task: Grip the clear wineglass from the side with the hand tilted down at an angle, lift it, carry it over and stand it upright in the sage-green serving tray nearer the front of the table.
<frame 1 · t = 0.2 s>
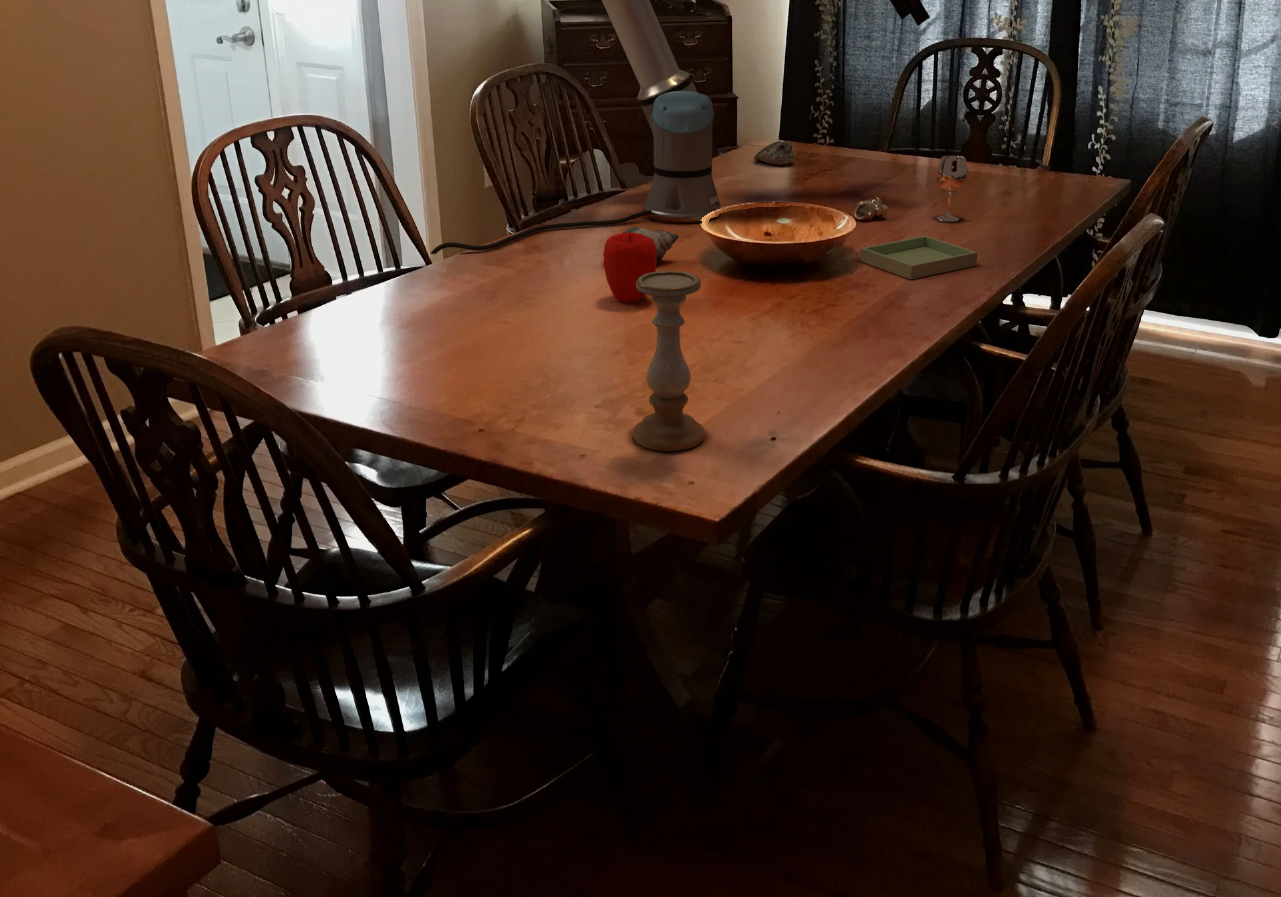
hand: (915, 18, 255), 36 cm above the table, tool tilted 35°, fingers open, 13 cm apart
wineglass: (947, 219, 251), on the table
candle holder: (668, 438, 157), on the table
apple: (630, 300, 207), on the table
ornament: (871, 218, 253), on the table
grey rock: (776, 163, 301), on the table
tray: (917, 263, 224), on the table
seashell: (640, 264, 226), on the table
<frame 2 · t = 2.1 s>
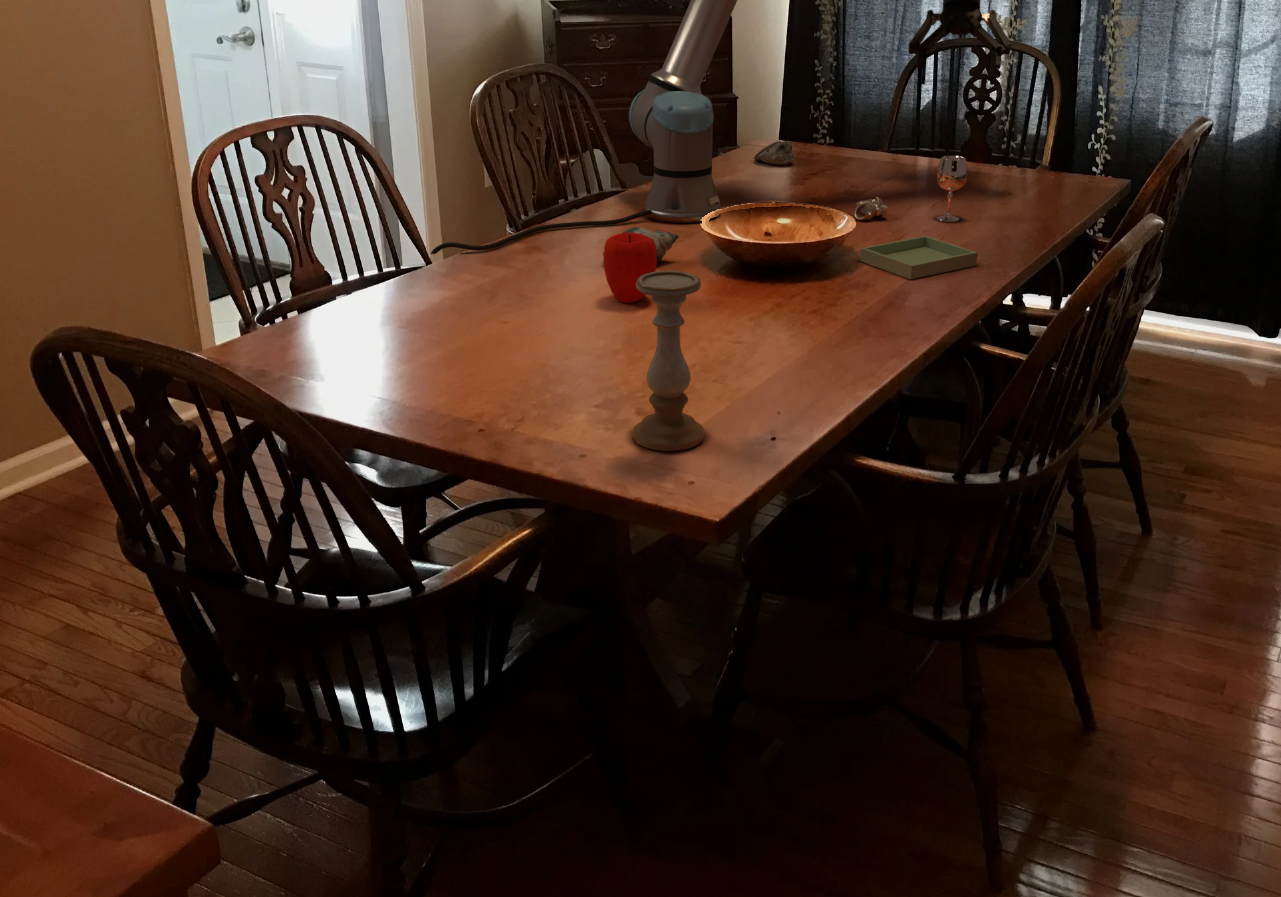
hand: (957, 80, 256), 24 cm above the table, tool tilted 45°, fingers open, 13 cm apart
nothing on the table moved.
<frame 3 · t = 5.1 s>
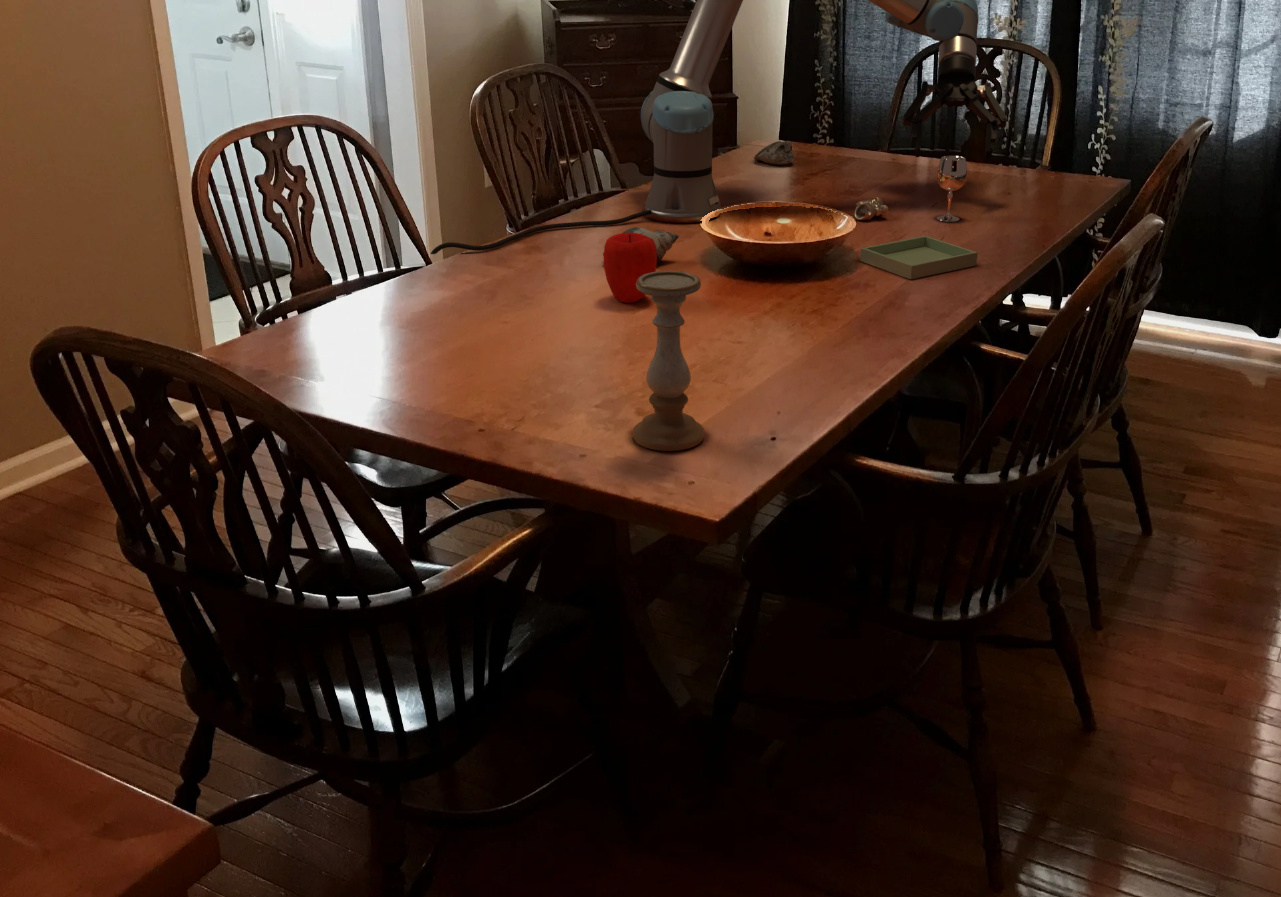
hand: (952, 154, 252), 11 cm above the table, tool tilted 45°, fingers open, 13 cm apart
nothing on the table moved.
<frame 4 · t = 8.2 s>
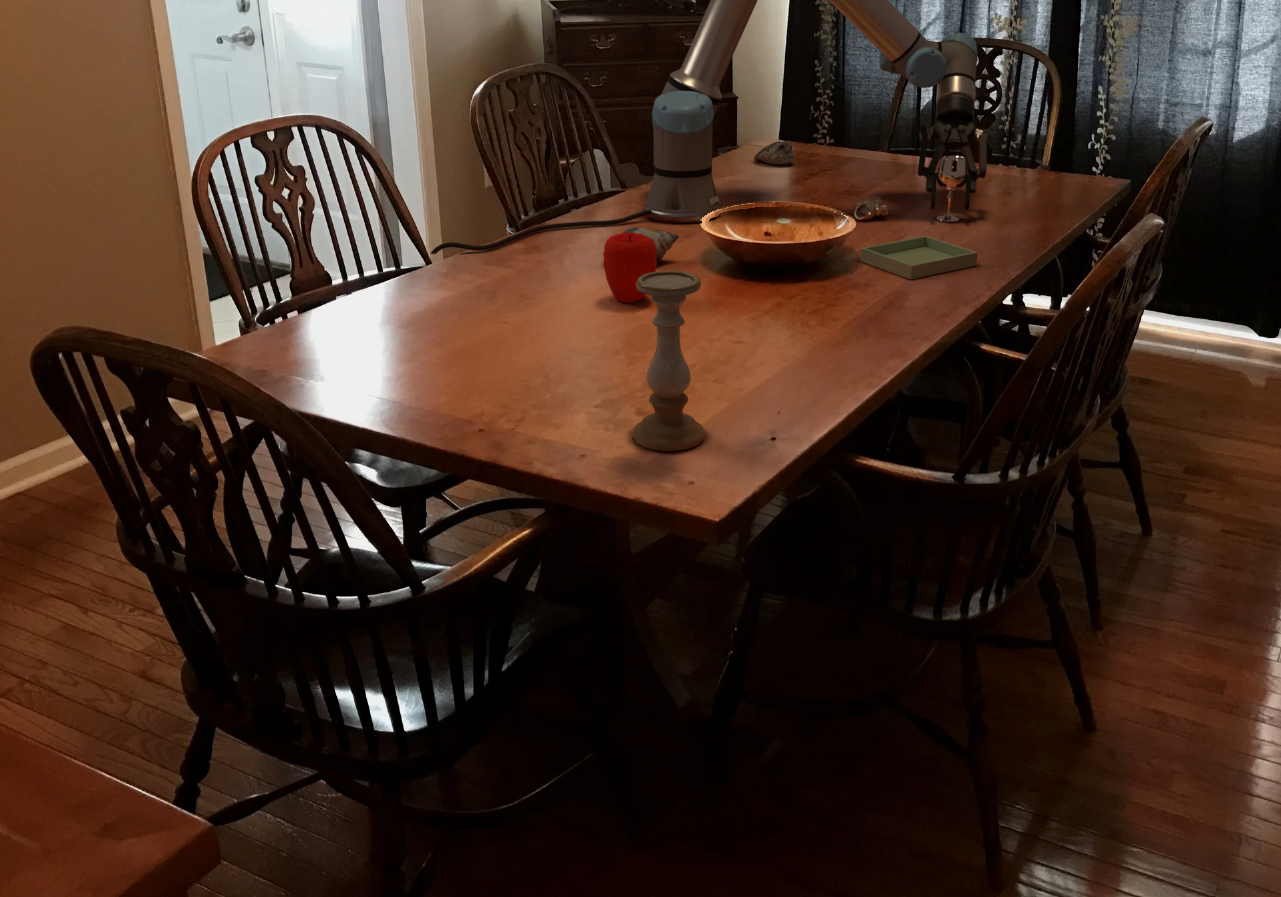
hand: (950, 205, 247), 4 cm above the table, tool tilted 45°, fingers closed on wineglass, 6 cm apart
wineglass: (947, 219, 251), on the table, touching gripper
everything else where it was.
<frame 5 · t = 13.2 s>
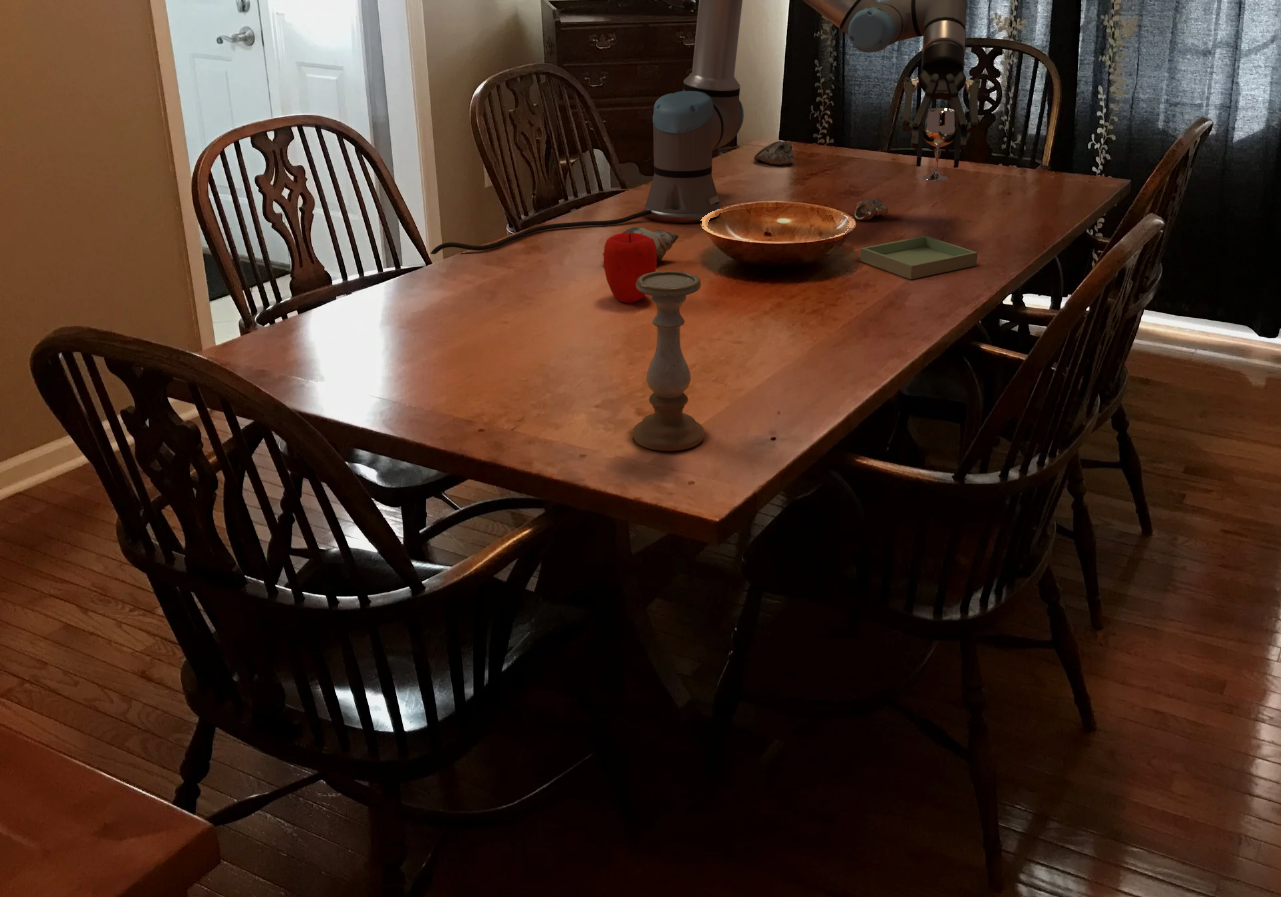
hand: (937, 162, 223), 16 cm above the table, tool tilted 45°, fingers closed on wineglass, 6 cm apart
wineglass: (935, 179, 228), point 13 cm above the table, touching gripper
everything else where it was.
when the fingers open (4 cm above the table, at t = 18.2 s): wineglass stays where it is, resting on tray.
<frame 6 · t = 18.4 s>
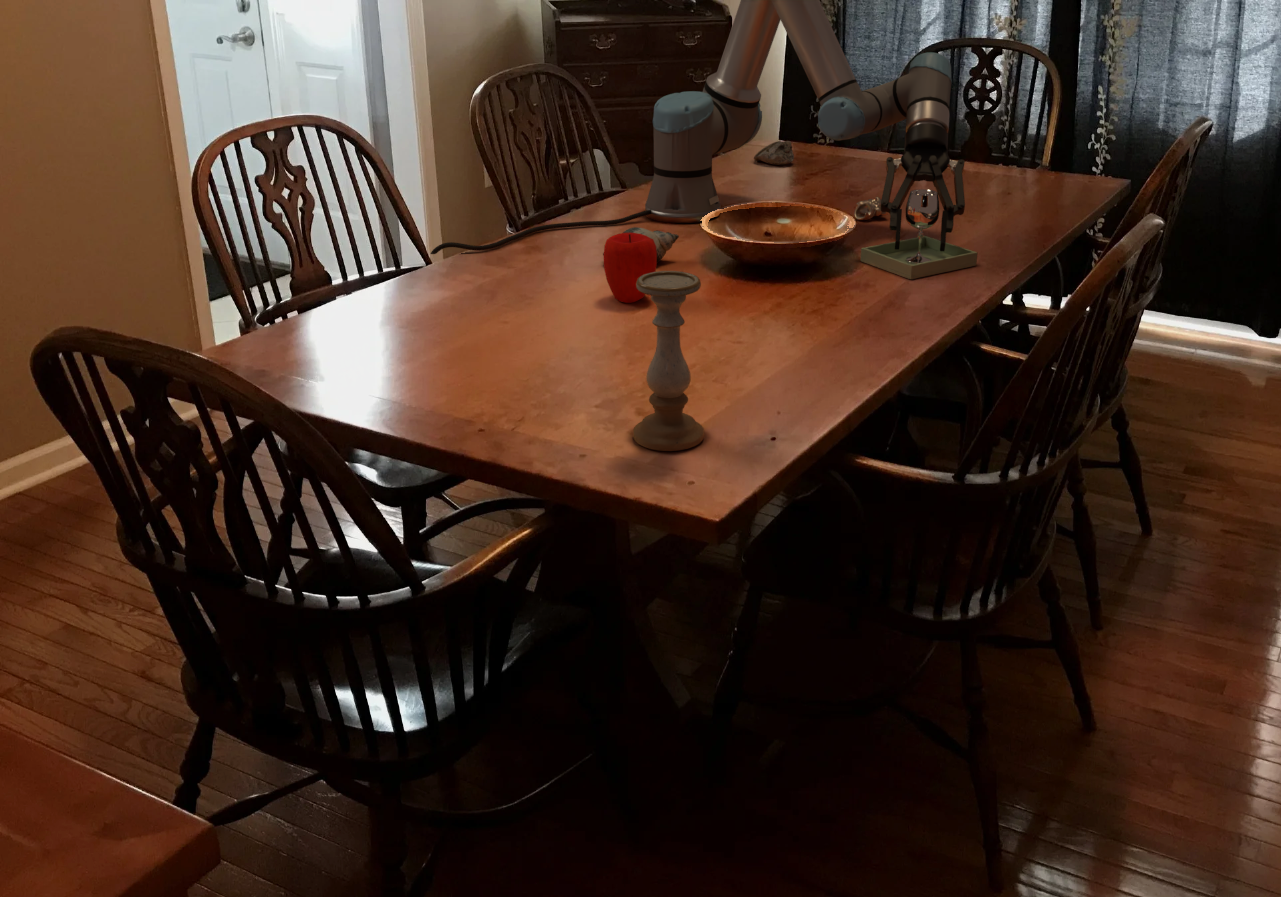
hand: (919, 246, 219), 4 cm above the table, tool tilted 45°, fingers open, 7 cm apart
wineglass: (918, 261, 224), resting on tray
everything else where it was.
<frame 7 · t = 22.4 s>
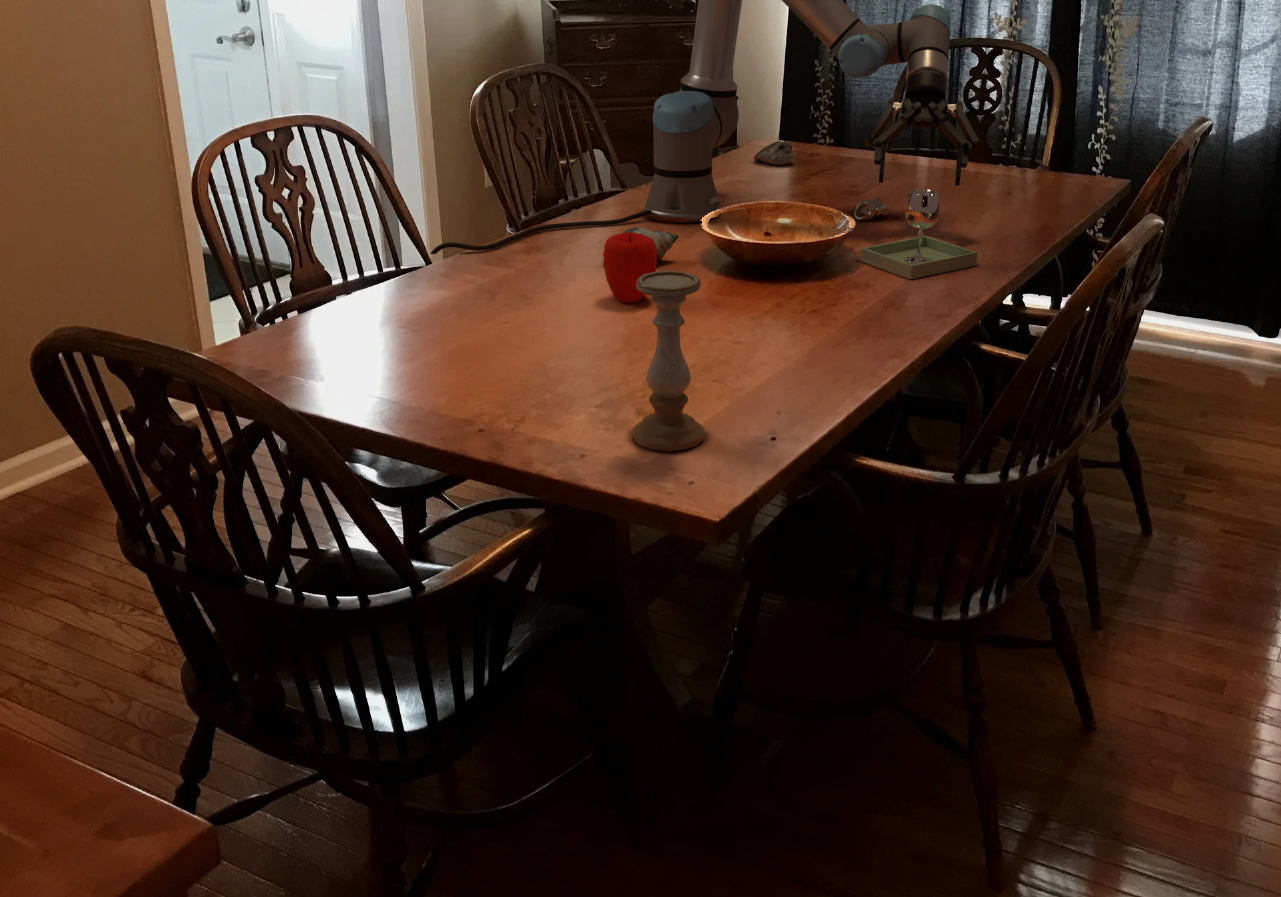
hand: (919, 180, 229), 12 cm above the table, tool tilted 45°, fingers open, 13 cm apart
nothing on the table moved.
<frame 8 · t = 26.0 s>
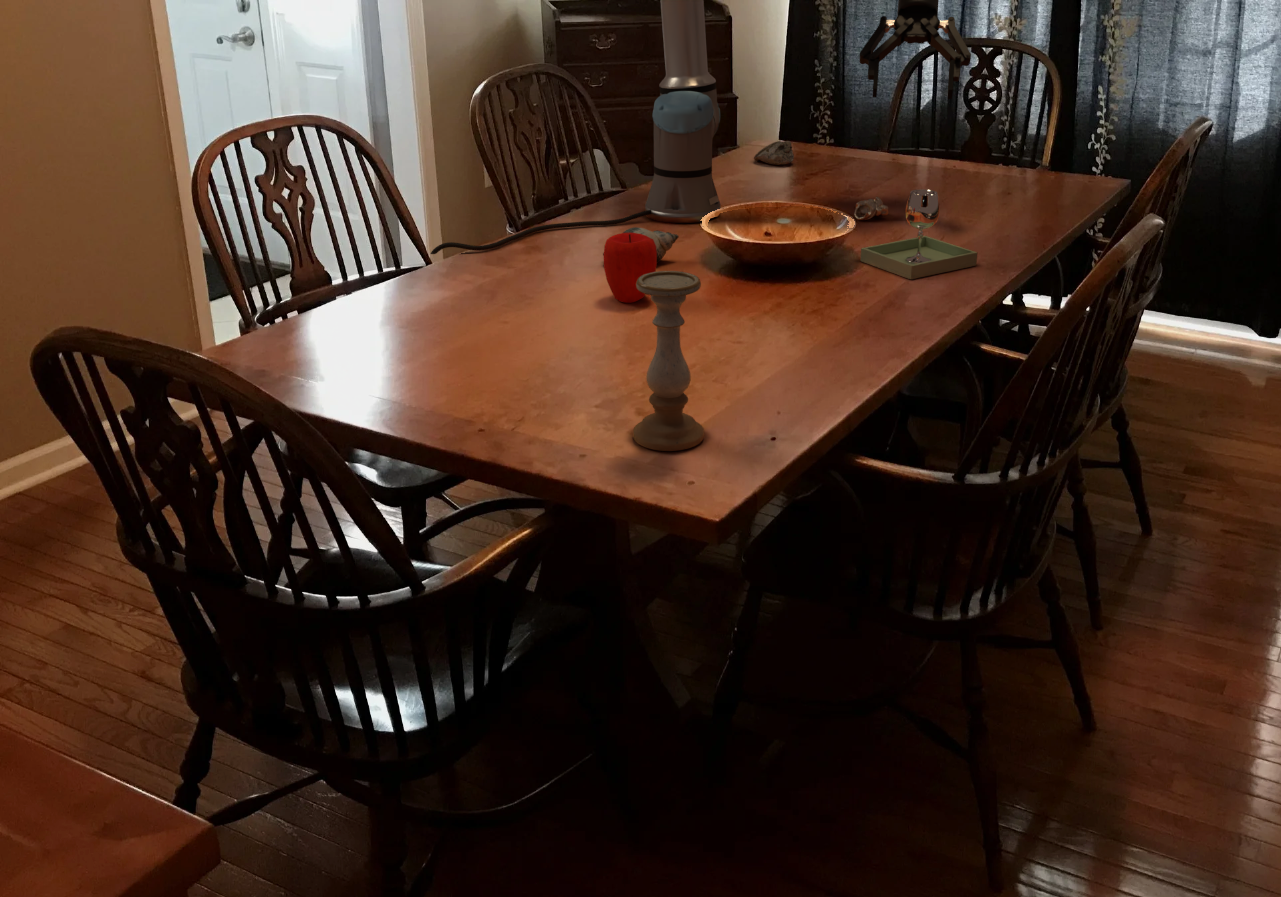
hand: (912, 93, 233), 26 cm above the table, tool tilted 45°, fingers open, 13 cm apart
nothing on the table moved.
at the end: wineglass inside the target area in the tray (0.0 cm from its centre), point 0.4 cm above the tray's base; wineglass tilted 0°; the gripper is holding nothing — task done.
